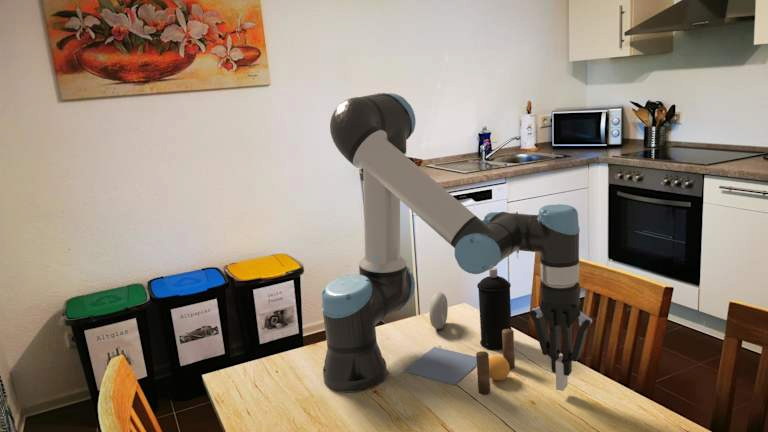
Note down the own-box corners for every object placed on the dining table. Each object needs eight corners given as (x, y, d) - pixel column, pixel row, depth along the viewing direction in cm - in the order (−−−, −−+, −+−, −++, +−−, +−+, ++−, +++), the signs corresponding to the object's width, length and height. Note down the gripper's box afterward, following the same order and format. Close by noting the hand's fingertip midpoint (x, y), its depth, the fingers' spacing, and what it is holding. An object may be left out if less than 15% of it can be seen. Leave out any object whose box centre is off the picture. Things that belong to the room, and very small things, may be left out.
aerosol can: (499, 353, 148) (496, 276, 144) (473, 344, 154) (469, 270, 150) (519, 342, 154) (516, 267, 149) (493, 333, 160) (490, 261, 155)
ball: (478, 377, 137) (483, 357, 134) (489, 366, 141) (494, 347, 139) (500, 389, 134) (505, 369, 132) (510, 378, 138) (516, 358, 136)
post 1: (476, 393, 132) (474, 355, 130) (481, 387, 134) (479, 350, 132) (486, 396, 130) (485, 357, 128) (492, 390, 132) (490, 352, 130)
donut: (441, 335, 161) (439, 300, 159) (429, 335, 162) (426, 300, 160) (450, 320, 170) (447, 286, 168) (438, 319, 171) (435, 286, 169)
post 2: (501, 367, 142) (500, 332, 139) (506, 363, 144) (505, 328, 141) (512, 370, 140) (510, 334, 138) (516, 365, 142) (515, 330, 140)
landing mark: (403, 371, 144) (403, 370, 144) (434, 347, 155) (434, 346, 155) (454, 385, 136) (454, 384, 136) (483, 359, 147) (483, 358, 146)
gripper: (598, 280, 121) (598, 386, 127) (536, 271, 129) (539, 372, 134) (586, 292, 115) (586, 403, 121) (521, 283, 123) (525, 388, 129)
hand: (561, 387), depth 128 cm, fingers closed
